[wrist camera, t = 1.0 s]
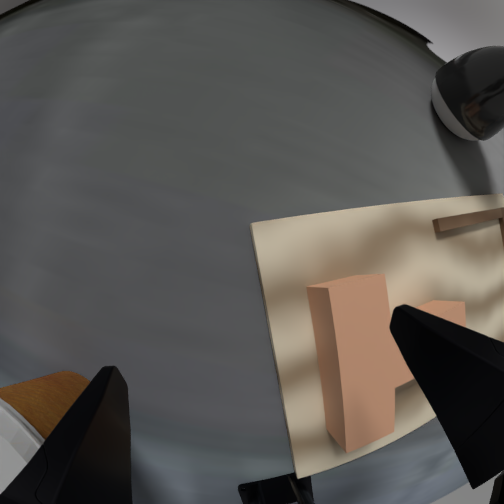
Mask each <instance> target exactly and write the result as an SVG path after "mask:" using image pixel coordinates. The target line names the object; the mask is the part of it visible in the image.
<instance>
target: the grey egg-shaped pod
mask: <svg viewBox="0 0 504 504" xmlns="http://www.w3.org/2000/svg"><path fill="white" fill-rule="evenodd" d="M431 97H432V102H433V105H434V108H435V110H436V112H437V114H438V116H439V118H440V119H441V121H442V122H443V123H444V124H445V126H446V127H447V128H448V129H449V130H450V131H451V132H453V133H454V134H455V135H457V136H459V137H461V138H463V139H466V140H473V141H474V140H483V141H485V140H488V139H489V138H491V137H493V136H494V135H495V134H497V133H498V132H499V131H500V130H502V129H503V128H504V46H489V47H483V48H479V49H476V50H472V51H469V52H467V53H464V54H462V55H460V56H458V57H456V58H455V59H453V60H451V61H449V62H448V63H446V64H445V65H443V66H442V67H441V68H440V69H439V70H438V71H437V72H436V76H435V79H434V81H433V84H432V88H431Z"/></svg>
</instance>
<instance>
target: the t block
mask: <svg viewBox="0 0 504 504" xmlns="http://www.w3.org/2000/svg"><path fill="white" fill-rule="evenodd" d="M306 288H307V294H308V300H309V306H310V312H311V318H312V324H313V330H314V337H315V343H316V350H317V357H318V364H319V371H320V379H321V386H322V394H323V403H324V411H325V420H326V429H327V430H328V432H329V433H330V434H331V435H332V437H333V438H334V439H335V440H336V441H337V443H338V444H339V445H340V446H341V448H342V449H343V450H344V451H345V452H346V453H348V452H351V451H353V450H356V449H358V448H361V447H363V446H365V445H368V444H370V443H372V442H374V441H376V440H379V439H381V438H383V437H385V436H387V435H389V434H391V433H393V432H394V425H395V388H396V387H398V386H400V385H402V384H405V383H407V382H408V381H410V380H412V379H414V376H413V375H412V373H411V371H410V370H409V368H408V366H407V364H406V362H405V360H404V358H403V356H402V354H401V352H400V350H399V348H398V346H397V344H396V342H395V340H394V338H393V336H392V334H391V332H390V328H389V325H390V321H391V317H390V308H389V300H388V293H387V286H386V279H385V274H370V275H355V276H350V277H346V278H342V279H338V280H333V281H329V282H325V283H320V284H316V285H311V286H307V287H306ZM416 308H417V309H420V310H422V311H425V312H428V313H430V314H433V315H435V316H438V317H440V318H443V319H446V320H448V321H451V322H453V323H456V324H458V325H461V326H463V327H466V314H465V302H461V301H439V300H433V301H430V302H428V303H426V304H423V305H421V306H418V307H416Z"/></svg>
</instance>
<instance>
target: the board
mask: <svg viewBox="0 0 504 504" xmlns="http://www.w3.org/2000/svg"><path fill="white" fill-rule="evenodd" d="M250 231H251V236H252V242H253V247H254V252H255V258H256V263H257V269H258V274H259V279H260V285H261V290H262V296H263V301H264V307H265V312H266V317H267V323H268V328H269V334H270V339H271V345H272V350H273V356H274V361H275V366H276V372H277V377H278V383H279V388H280V394H281V399H282V405H283V410H284V416H285V421H286V427H287V432H288V438H289V444H290V449H291V455H292V460H293V466H294V471H295V473H296V477H297V479H299V478H303V477H306V476H309V475H313V474H316V473H319V472H322V471H325V470H328V469H331V468H333V467H336V466H339V465H341V464H344V463H347V462H349V461H352V460H354V459H357V458H359V457H361V456H364V455H366V454H368V453H370V452H372V451H375V450H377V449H379V448H381V447H383V446H385V445H387V444H389V443H391V442H393V441H395V440H397V439H399V438H401V437H402V436H404V435H406V434H408V433H410V432H411V431H413V430H415V429H417V428H418V427H420V426H422V425H423V424H425V423H427V422H428V421H430V420H431V419H433V418H435V417H436V414H435V413H434V411H433V409H432V407H431V405H430V404H429V402H428V400H427V398H426V397H425V395H424V393H423V392H422V390H421V388H420V386H419V385H418V383H417V381H416V380H415V378H414V379H412V380H410V381H408V382H407V383H405V384H402V385H400V386H398V387H396V388H395V425H394V432H393V433H391V434H389V435H387V436H385V437H383V438H381V439H379V440H376V441H374V442H372V443H370V444H368V445H365V446H363V447H361V448H358V449H356V450H353V451H351V452H348V453H346V452H345V451H344V450H343V449H342V448H341V446H340V445H339V444H338V443H337V441H336V440H335V439H334V438H333V437H332V435H331V434H330V433H329V432H328V430H327V429H326V420H325V411H324V403H323V394H322V386H321V379H320V371H319V364H318V357H317V350H316V343H315V337H314V330H313V324H312V318H311V312H310V306H309V300H308V294H307V288H306V287H307V286H311V285H316V284H320V283H325V282H329V281H333V280H338V279H342V278H346V277H350V276H355V275H370V274H385V279H386V286H387V293H388V300H389V308H390V317H392V313H393V310H394V308H395V307H396V306H399V305H402V304H407V305H409V306H412V307H415V308H416V307H418V306H421V305H423V304H426V303H428V302H430V301H433V300H439V301H461V302H465V314H466V328H469V329H471V330H474V331H476V332H479V333H481V334H484V335H486V336H488V337H492V338H494V339H496V340H499V341H502V342H504V197H503V193H502V194H489V195H476V196H464V197H453V198H443V199H433V200H423V201H413V202H404V203H395V204H387V205H378V206H370V207H362V208H354V209H346V210H338V211H331V212H323V213H316V214H309V215H302V216H295V217H288V218H281V219H275V220H268V221H262V222H255V223H251V224H250Z"/></svg>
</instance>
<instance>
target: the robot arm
mask: <svg viewBox="0 0 504 504" xmlns="http://www.w3.org/2000/svg"><path fill="white" fill-rule="evenodd" d="M389 328H390V332H391V334H392V336H393V338H394V340H395V342H396V344H397V346H398V348H399V350H400V352H401V354H402V356H403V358H404V360H405V362H406V364H407V366H408V368H409V370H410V371H411V373H412V375H413V376H414V378H415V380H416V381H417V383H418V385H419V386H420V388H421V390H422V392H423V393H424V395H425V397H426V398H427V400H428V402H429V404H430V405H431V407H432V409H433V411H434V413H435V414H436V416H437V418H438V420H439V422H440V424H441V426H442V427H443V429H444V431H445V433H446V435H447V437H448V439H449V441H450V443H451V445H452V447H453V449H454V450H455V453H456V455H457V457H458V459H459V461H460V463H461V465H462V468H463V470H464V472H465V474H466V476H467V479H468V481H469V483H470V485H471V487H472V489H475V488H477V487H478V486H480V485H482V484H483V483H485V482H486V481H488V480H490V479H491V478H493V477H494V476H496V475H497V474H498V473H500V472H501V471H503V472H502V473H501V474H500V475H499V476H498V477H497V478H496V479H495V481H494V486H493V491H492V495H491V499H490V503H489V504H504V342H502V341H499V340H496V339H494V338H492V337H488V336H486V335H484V334H481V333H479V332H476V331H474V330H471V329H469V328H466V327H463V326H461V325H458V324H456V323H453V322H451V321H448V320H446V319H443V318H440V317H438V316H435V315H433V314H430V313H428V312H425V311H422V310H420V309H417V308H415V307H412V306H409V305H407V304H402V305H399V306H396V307H395V308H394V310H393V313H392V317H391V321H390V325H389ZM130 447H131V429H130V416H129V401H128V387H127V383H126V381H125V380H124V378H123V376H122V375H121V373H120V372H119V370H118V368H117V367H116V366H104V367H102V368H101V370H100V371H99V372H98V373H97V375H96V376H95V377H94V378H93V379H92V381H91V382H90V383H89V384H88V386H87V387H86V388H85V389H84V391H83V392H82V393H81V394H80V396H79V397H78V398H77V399H76V401H75V402H74V403H73V404H72V406H71V407H70V408H69V409H68V411H67V412H66V413H65V415H64V416H63V417H62V419H61V420H60V421H59V422H58V424H57V425H56V426H55V428H54V429H53V430H52V432H51V433H50V434H49V436H48V437H47V438H46V440H45V441H44V443H43V444H42V445H41V446H40V448H39V449H38V450H37V452H36V453H35V454H34V456H33V457H32V458H31V460H30V461H29V462H28V463H27V465H26V466H25V467H24V468H23V469H22V470H21V472H20V473H19V474H18V475H17V476H16V477H15V478H14V480H13V481H12V482H11V483H10V484H9V485H8V486H7V487H6V489H5V490H4V491H3V492H2V493H1V494H0V504H132V490H131V456H130ZM242 488H245V489H242ZM238 491H239V494H240V496H241V499H242V502H243V504H315V503H314V499H313V491H312V484H311V476H310V475H309V476H306V477H303V478H299V479H297V477H296V473H295V472H294V473H291V474H287V475H283V476H279V477H275V478H270V479H266V480H261V481H256V482H250V483H245V484H240V485H239V486H238Z"/></svg>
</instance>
